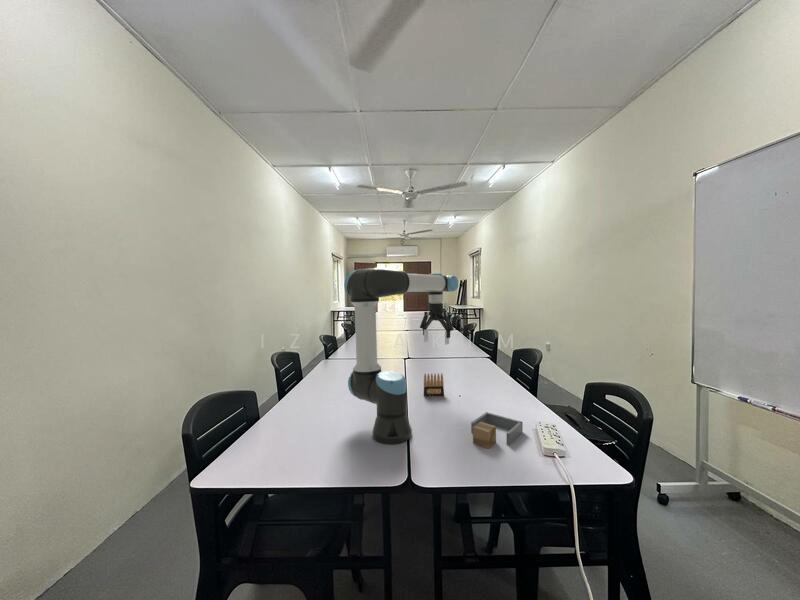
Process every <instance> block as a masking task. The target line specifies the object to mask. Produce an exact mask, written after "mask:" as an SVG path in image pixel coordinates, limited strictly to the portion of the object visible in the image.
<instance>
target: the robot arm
mask: <svg viewBox="0 0 800 600" xmlns="http://www.w3.org/2000/svg"><path fill="white" fill-rule="evenodd" d="M343 286H344V291H345V293H346V294H347V296H348V297H350V304H351V305H353V307H354V325H355V326H354V328H355V329H354V330H355V352H356V353H355V355H356V358H355V359H356V360H355V361H356V362H355V363H356V364H355V365H354V366H353V368H352V372H350V376H349V377H348V380H347V386H348V390H349V392H350V394H351V395H352V396H353V397H355V398H357V399H358V400H359V399H360V400H363V401H366V402H369V403H371V404H374V405H376V416H375V421H374V424H373V427H372V438H373V440H375V441H376V442H378V443H380V444H385V445H397V444H402V443H405V442H407V441H409V440H410V439H411V438H412V435H413V432H412V431H413V429H412V426H411V424H410V420H409V416H408V395H407V394H408V388H407V387H408V385H407V379H406V377H405V375H403V374H401V373H400V372H397V371H389V370H384V371H383V370H382V366H381V365H380V364H379V363H378V348H377V346H378V343H377V342H378V340H377V312H376V310H377V309H376V307H377V305H378V303H380V298H385V297H390V296H398V295H404V294H407V293H424V292H425V293H428V310H429V311H424V314H423V315H424V316H423V318H422V320H421V323H420V326H419V329H422V335H423V342H424V343H427V342H429V329H428V327H430V325H431V324H432V322H433V321H438V322H440V325H442V327H443V329H444V330H445V331H444V345H450V338H451V332H452V331H454V330H455V329H454V326H453V324H452V322H451V320H450V317H449V312H448V311H447V312H446V311H445V312H443V311H444V303H443V302H444V292H445V293H448V292H456V290H457V289H458V288H459V279H458V277H457V276H456V275H451V274H449V275H443V274H442V273H429V274H424V273H423V274H422V273H420V274H419V273H407V272H406V271H405V270H397V269H392V268H391V269H390V268H385V267H374V268H358V269H355V270H353V271H351V272H350V273H348V275H347V276H346V278H345V280H344V283H343Z"/></svg>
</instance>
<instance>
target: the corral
mask: <svg viewBox="0 0 800 600" xmlns="http://www.w3.org/2000/svg"><path fill="white" fill-rule="evenodd" d="M480 422H483V423H487V424H490V425H493V426H496V427H500V428H504V429H507V430H508V431H507V432H506V445H508V446H510V445H511V444H512V443H513V442H514V441H516V439H517V438H518V437H519V436H520V435H522V433H523V427H524V426H523V425H524V424H523V421H521V420H518V419H514V418H510V417H506V416H503V415H502V416H501V415H498V414H494V413H490V412H487V411H486V412H484V413H483V414H481V415H480V416H478V417H477V418H475V419H474V420H473V421H471V423H470V426H471V427H470V428H471V429H470V430H471V431H470V433H472V434H473V427H474V426H475V425H477V424H478V423H480Z"/></svg>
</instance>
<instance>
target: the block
mask: <svg viewBox="0 0 800 600" xmlns="http://www.w3.org/2000/svg"><path fill="white" fill-rule="evenodd" d="M496 443H497V426H496V425H493V424H489V423H483V422H480V423H478V424H477V425H475V426H474V427H473V433H472V444H475V446H476V445H477V446H479V447H482V448H485V449H488V450H489V449H490V448H492V446H494V445H495V444H496Z"/></svg>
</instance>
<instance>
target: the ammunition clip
mask: <svg viewBox="0 0 800 600" xmlns="http://www.w3.org/2000/svg"><path fill="white" fill-rule="evenodd" d="M436 374H437V375H436ZM433 375H434V376H433ZM444 387H445V386H444V375H443V373H442V372H441V374H440V373H434V374H433V373H430V374H429V373H427V374H426V373H424V375H423V397H444V396H445V389H444Z"/></svg>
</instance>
